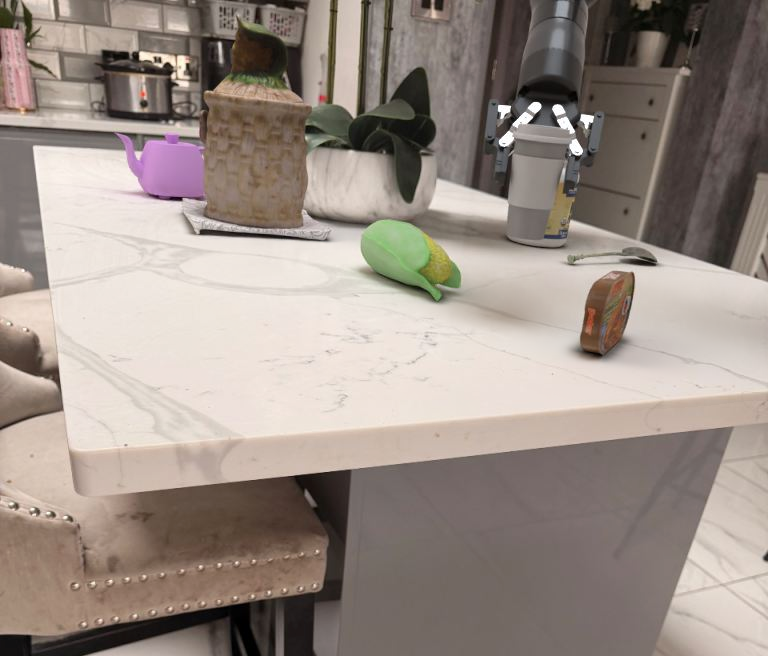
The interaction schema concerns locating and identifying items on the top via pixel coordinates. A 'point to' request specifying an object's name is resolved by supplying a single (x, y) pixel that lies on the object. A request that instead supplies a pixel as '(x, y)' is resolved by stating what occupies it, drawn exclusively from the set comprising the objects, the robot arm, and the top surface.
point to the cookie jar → (254, 146)
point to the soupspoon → (618, 254)
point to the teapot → (168, 167)
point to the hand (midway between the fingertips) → (534, 185)
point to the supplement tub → (556, 218)
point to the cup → (534, 178)
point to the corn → (408, 256)
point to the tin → (607, 311)
